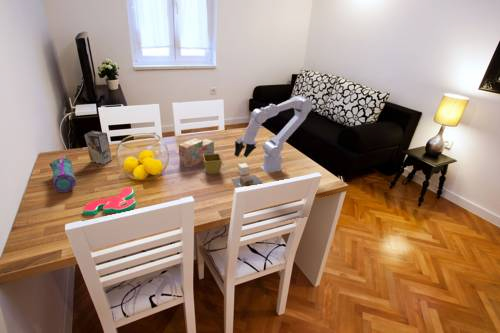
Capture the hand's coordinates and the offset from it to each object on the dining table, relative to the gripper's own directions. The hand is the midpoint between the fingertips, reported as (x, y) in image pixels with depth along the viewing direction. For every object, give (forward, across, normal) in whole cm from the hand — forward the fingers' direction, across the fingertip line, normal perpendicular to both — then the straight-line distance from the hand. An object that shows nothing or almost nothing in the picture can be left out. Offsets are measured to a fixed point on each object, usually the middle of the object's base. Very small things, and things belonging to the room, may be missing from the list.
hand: (240, 156), depth 144 cm
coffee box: (+36, +38, -57) cm, 77 cm away
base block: (+10, +2, +12) cm, 16 cm away
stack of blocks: (+17, +1, -26) cm, 31 cm away
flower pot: (+15, +5, -9) cm, 18 cm away
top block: (+9, -6, +2) cm, 11 cm away
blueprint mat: (+10, 0, +12) cm, 15 cm away
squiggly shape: (+34, +52, -15) cm, 64 cm away
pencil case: (+41, +59, -45) cm, 85 cm away
